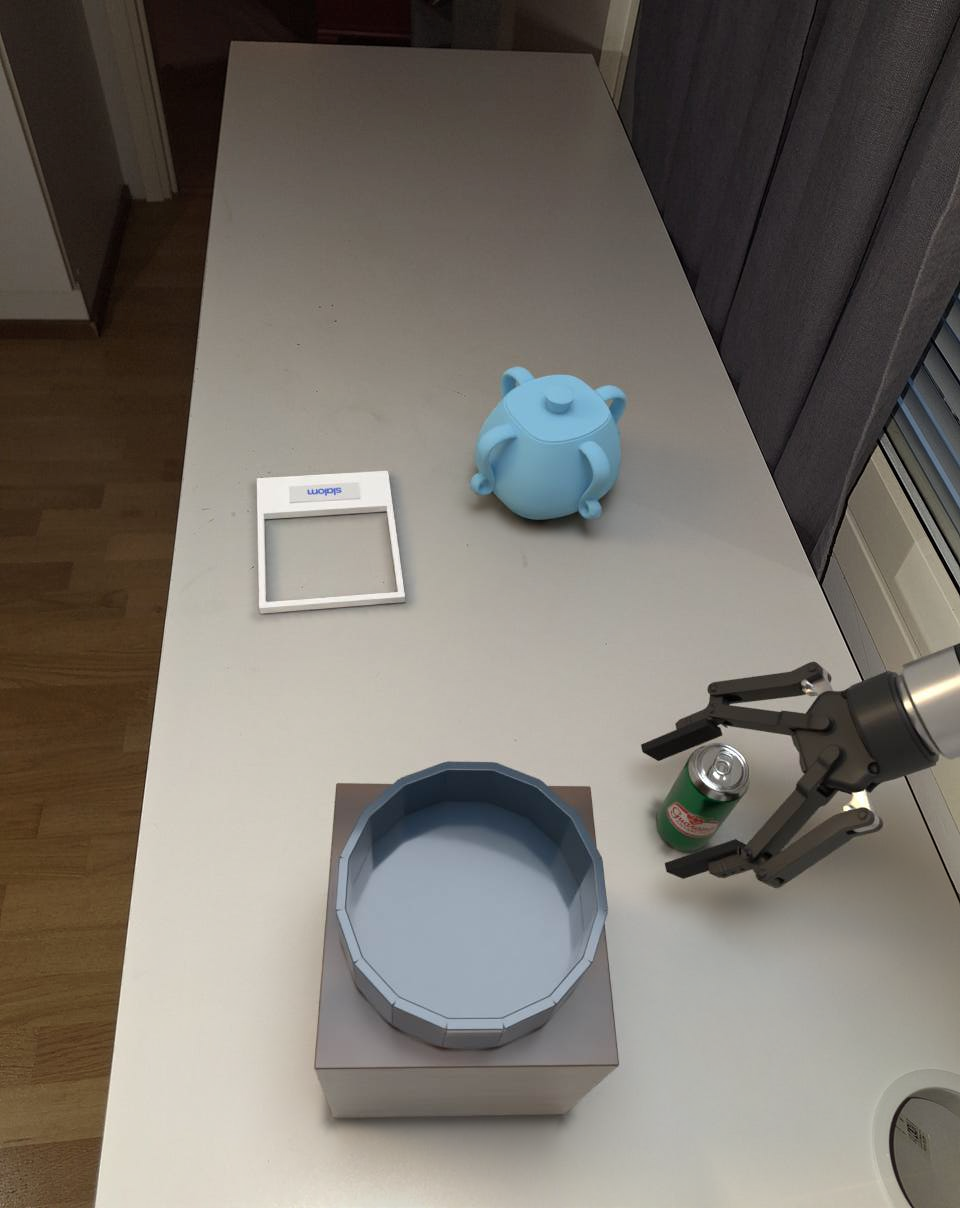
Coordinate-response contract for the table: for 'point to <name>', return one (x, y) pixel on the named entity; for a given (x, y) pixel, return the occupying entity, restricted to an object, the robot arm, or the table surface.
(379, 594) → the photo frame
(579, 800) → the stand
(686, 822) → the soda can
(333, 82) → the table surface
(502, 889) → the bowl
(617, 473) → the decorative pot
